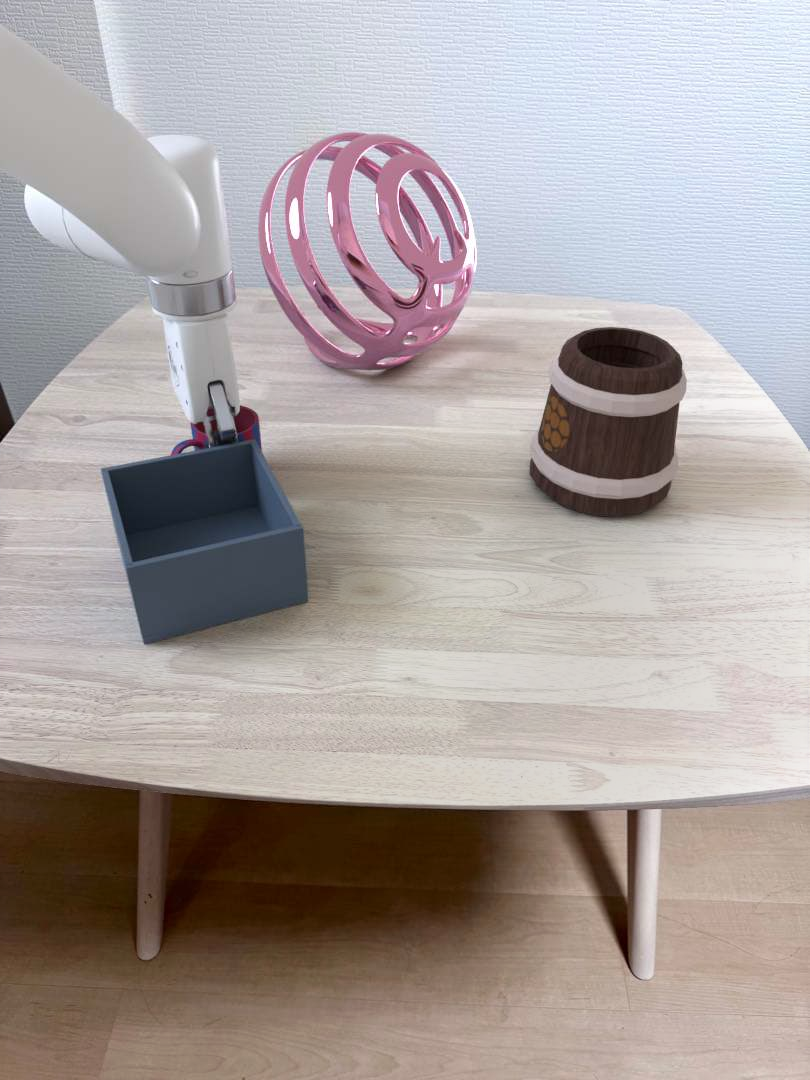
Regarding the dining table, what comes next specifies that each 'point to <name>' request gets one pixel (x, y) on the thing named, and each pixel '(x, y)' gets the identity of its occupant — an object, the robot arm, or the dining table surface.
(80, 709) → the dining table surface
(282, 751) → the dining table surface
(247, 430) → the cup
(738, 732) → the dining table surface
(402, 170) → the spiral basket
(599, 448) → the mug
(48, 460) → the dining table surface
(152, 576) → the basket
